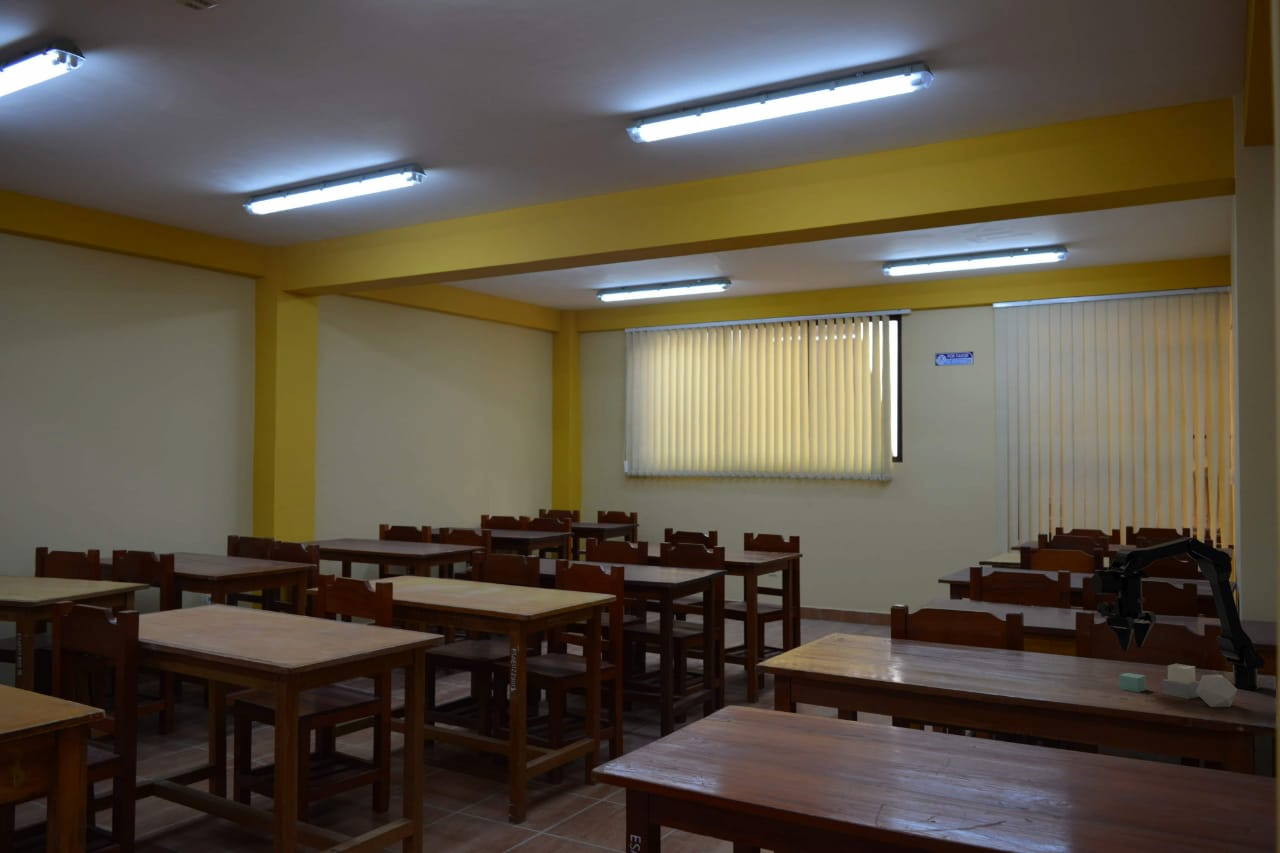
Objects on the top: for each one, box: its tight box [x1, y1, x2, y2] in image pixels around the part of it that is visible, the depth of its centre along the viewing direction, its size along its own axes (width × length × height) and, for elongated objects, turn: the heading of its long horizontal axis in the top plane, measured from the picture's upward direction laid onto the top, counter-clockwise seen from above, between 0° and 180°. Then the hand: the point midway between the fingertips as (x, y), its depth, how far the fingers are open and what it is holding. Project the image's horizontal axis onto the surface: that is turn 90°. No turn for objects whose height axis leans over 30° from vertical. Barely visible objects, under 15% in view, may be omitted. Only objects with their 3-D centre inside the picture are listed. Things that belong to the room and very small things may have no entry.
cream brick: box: [1167, 663, 1196, 684], centre depth 254 cm, size 5×5×4 cm
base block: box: [1161, 678, 1201, 700], centre depth 254 cm, size 7×7×4 cm
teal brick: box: [1118, 672, 1147, 693], centre depth 260 cm, size 5×5×4 cm
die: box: [1196, 674, 1239, 708], centre depth 242 cm, size 8×9×10 cm
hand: (1131, 649), depth 261 cm, fingers open, 9 cm apart
